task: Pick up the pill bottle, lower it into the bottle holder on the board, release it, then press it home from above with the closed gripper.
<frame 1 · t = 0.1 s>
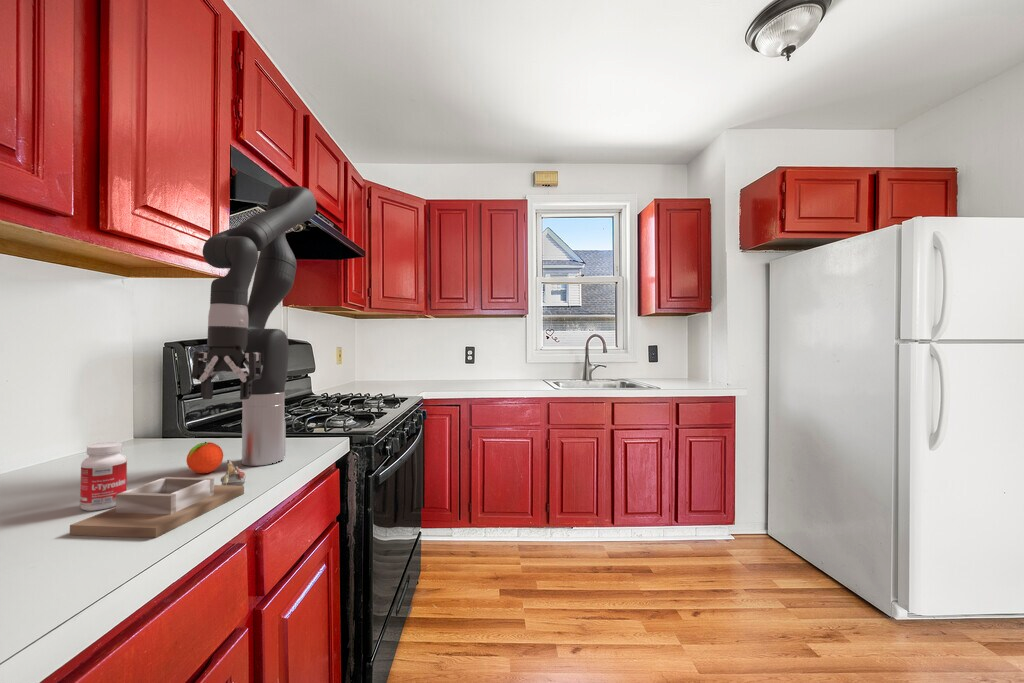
hand: (225, 399, 97), 17 cm above the counter, tool pointing down, fingers open, 8 cm apart
pill bottle: (103, 506, 80), on the counter
clementine: (203, 474, 100), on the counter
figurine: (233, 487, 92), on the counter
bottle holder: (167, 511, 77), on the counter
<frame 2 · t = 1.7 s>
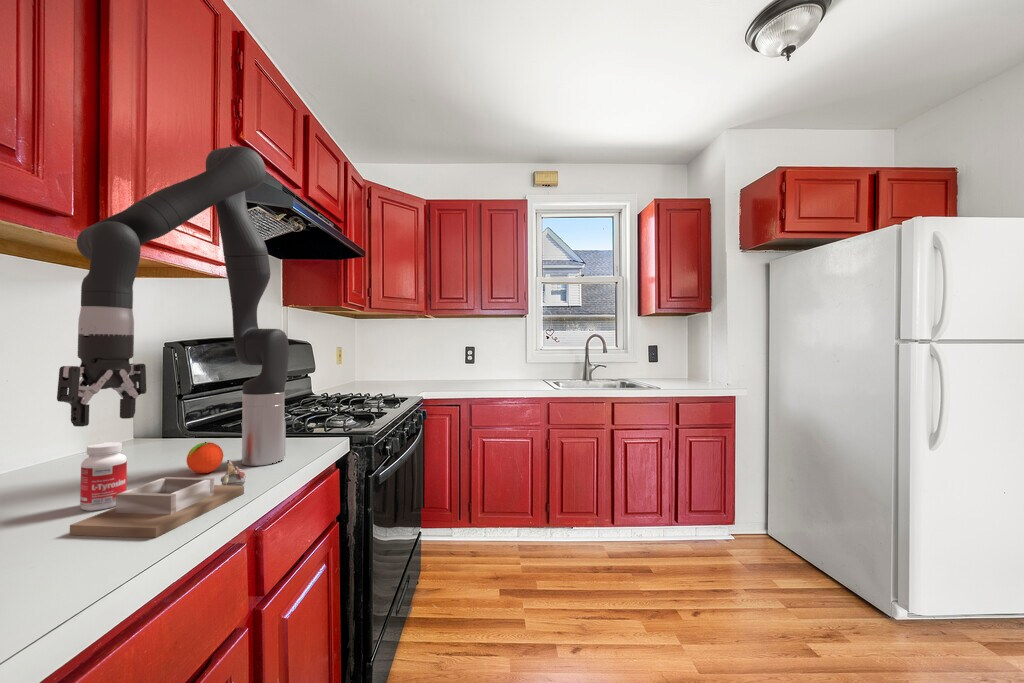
hand: (104, 422, 80), 15 cm above the counter, tool pointing down, fingers open, 8 cm apart
nothing on the counter moved.
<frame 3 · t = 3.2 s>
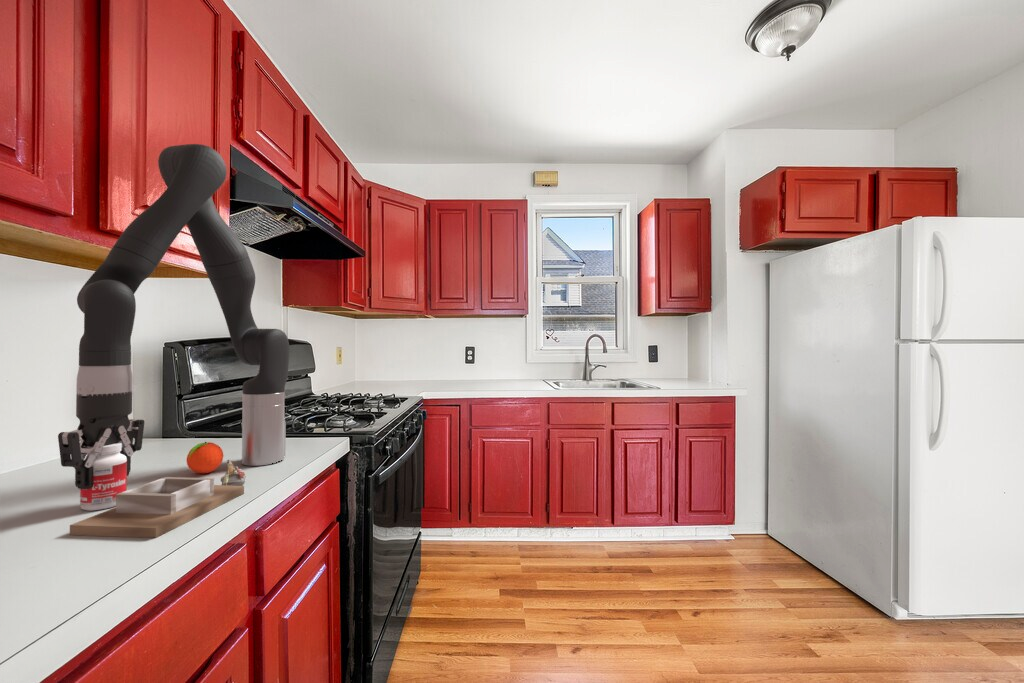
hand: (104, 482, 80), 4 cm above the counter, tool pointing down, fingers closed on pill bottle, 6 cm apart
pill bottle: (103, 506, 80), on the counter, touching gripper
everything else where it was.
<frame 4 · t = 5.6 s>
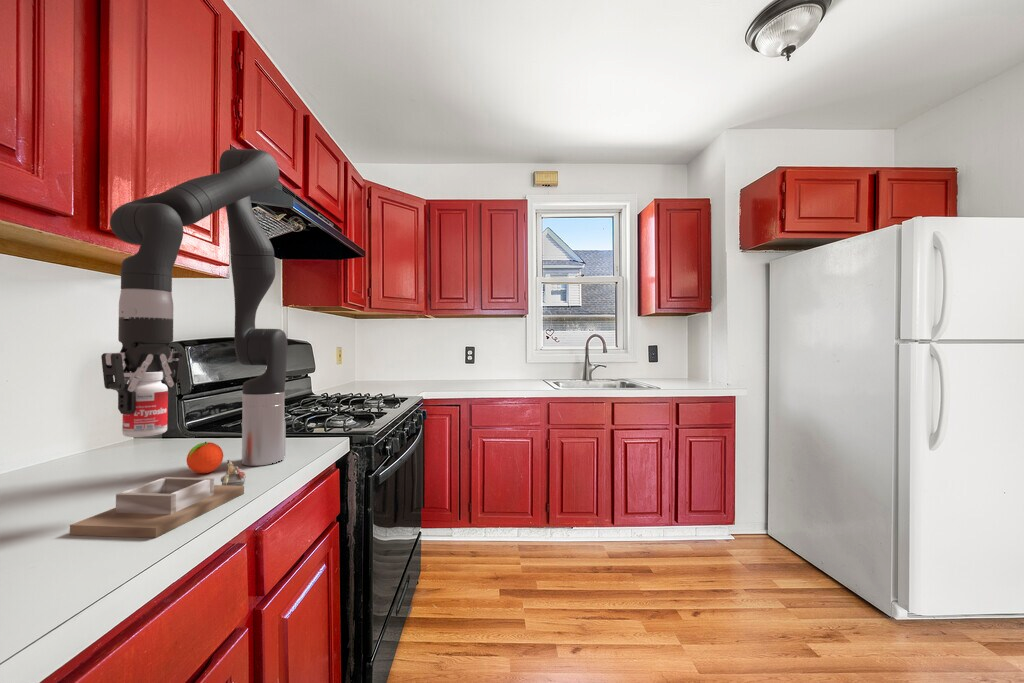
hand: (145, 410, 79), 18 cm above the counter, tool pointing down, fingers closed on pill bottle, 6 cm apart
pill bottle: (145, 435, 79), point 13 cm above the counter, touching gripper
everything else where it was.
when the fingers open (7 cm above the counter, at t = 8.1 s): pill bottle stays where it is, resting on bottle holder.
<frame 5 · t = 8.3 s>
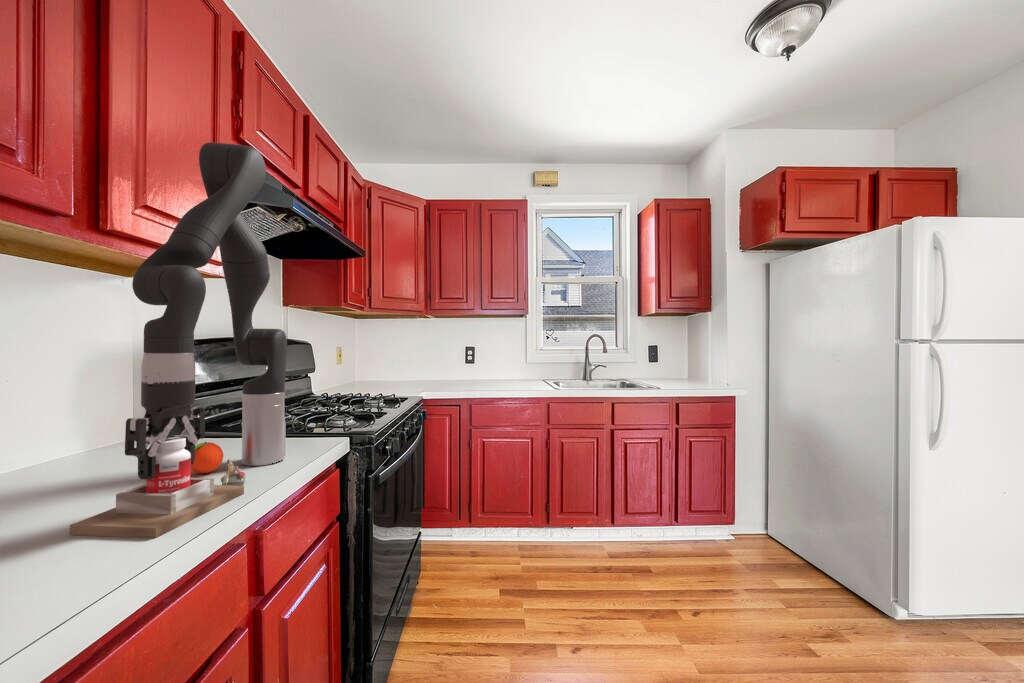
hand: (168, 471, 78), 7 cm above the counter, tool pointing down, fingers open, 8 cm apart
pill bottle: (168, 503, 78), point 1 cm above the counter, touching bottle holder
everything else where it was.
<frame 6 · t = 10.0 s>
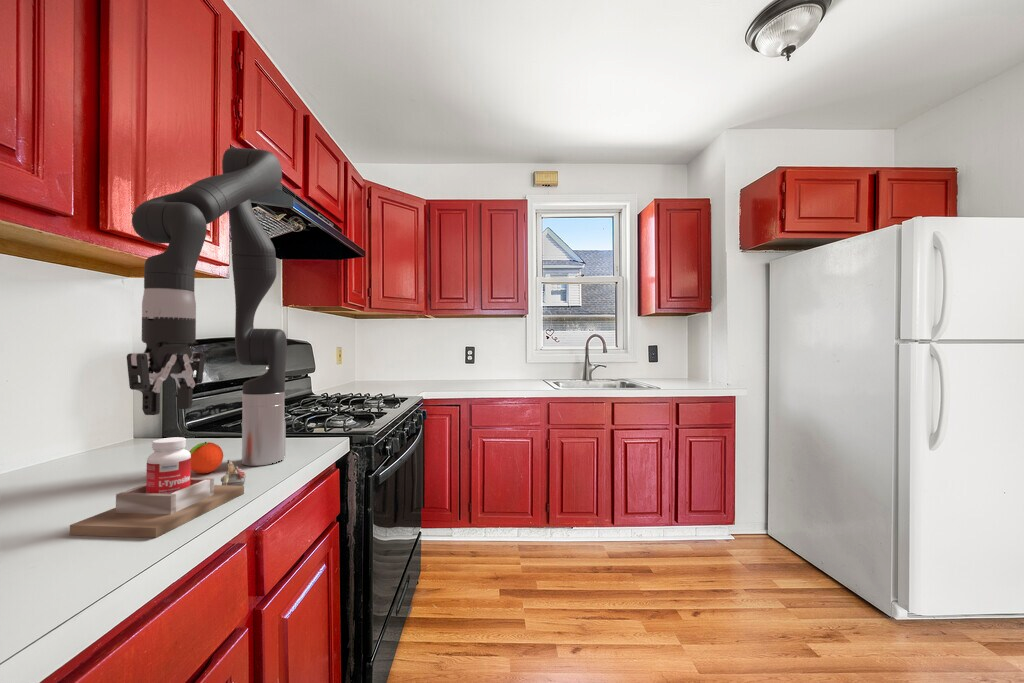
hand: (168, 411, 78), 18 cm above the counter, tool pointing down, fingers open, 6 cm apart
nothing on the counter moved.
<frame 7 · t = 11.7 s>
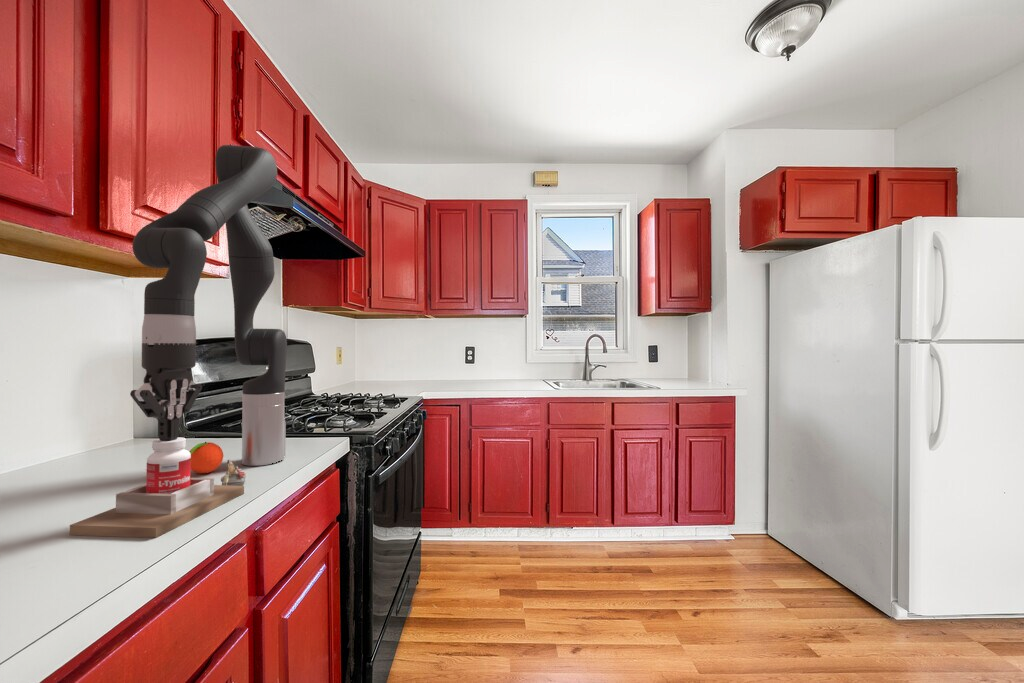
hand: (168, 440, 78), 13 cm above the counter, tool pointing down, fingers closed
pill bottle: (168, 503, 78), point 1 cm above the counter, touching bottle holder, gripper
everything else where it was.
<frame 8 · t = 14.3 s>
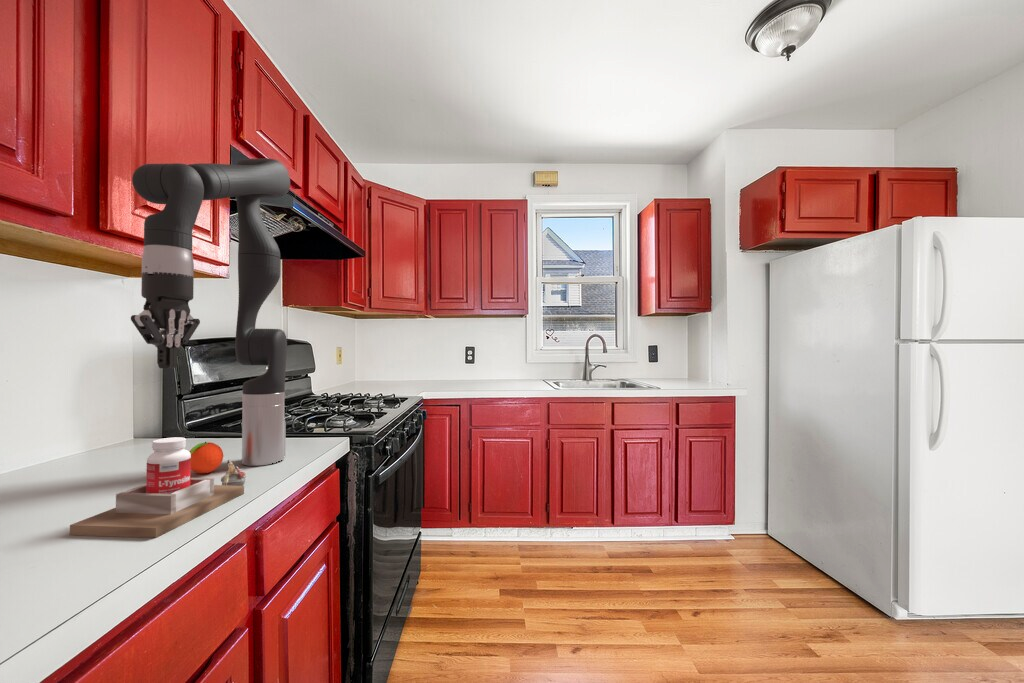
hand: (167, 368, 81), 25 cm above the counter, tool pointing down, fingers closed
pill bottle: (168, 503, 78), point 1 cm above the counter, touching bottle holder
everything else where it was.
at the end: pill bottle 0.2 cm from the bottle holder (horizontally); pill bottle point 1.3 cm above the counter; pill bottle tilted 0° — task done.
